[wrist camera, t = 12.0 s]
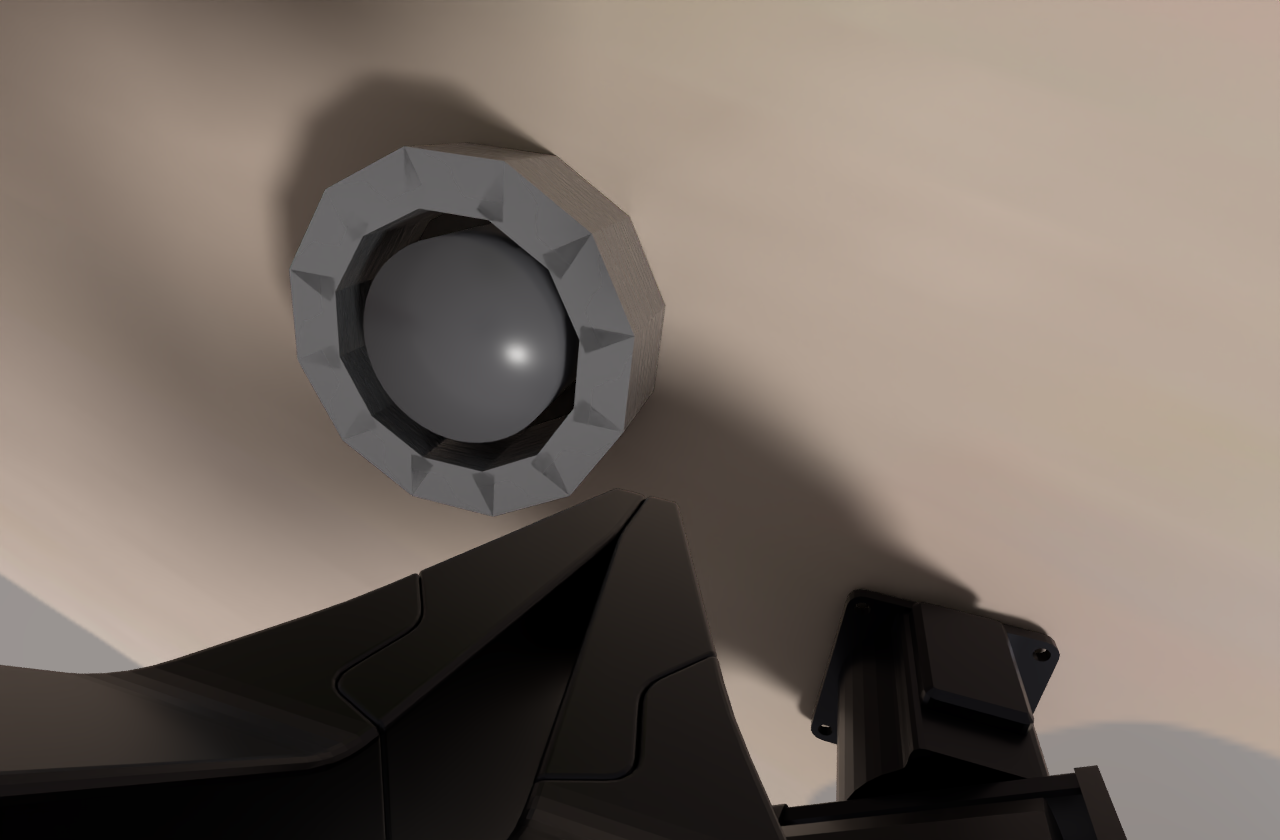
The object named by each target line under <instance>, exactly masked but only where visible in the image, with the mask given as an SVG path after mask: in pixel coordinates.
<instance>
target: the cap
mask: <svg viewBox="0 0 1280 840" xmlns="http://www.w3.org/2000/svg"><path fill="white" fill-rule="evenodd" d="M363 327H364V338H365V343H366V348H367V353H368V356H369V359H370V362H371V365H372V367H373V369H374V372H375V374H376V376H377V378H378V380H379V381H380V383H381V385H382V386H383V388H384V390H385V391H386V392H387V394H388V395H389V396H390V398H391V399H392V400H393V401H394V402H395V404H396V405H397V406H398V407H399V408H400V409H401V410H402V411H403V412H404V413H405V414H407V415H408V416H409V417H410V418H411V419H413V420H414V421H415V422H417V423H418V424H420V425H421V426H423V427H424V428H426V429H428V430H430V431H432V432H434V433H436V434H438V435H441V436H443V437H446V438H449V439H453V440H456V441H463V442H472V443H483V442H492V441H496V440H500V439H504V438H506V437H509V436H511V435H514V434H515V433H517V432H519V431H521V430H522V429H524V428H525V427H526V426H528V425H529V424H530V423H531V422H532V421H534V420H535V419H536V418H537V417H538V416H539V415H540V414H541V413H542V412H543V411H544V410H545V409H546V408H547V407H548V406H549V405H550V404H551V403H552V402H553V401H554V400H555V399H556V398H557V397H558V396H559V395H560V394H561V393H562V392H563V391H564V390H565V389H566V388H567V387H568V386H569V385H570V384H571V383H572V382H573V381H574V380H575V379H576V377H577V365H578V353H579V341H580V340H579V338H578V335H577V333H576V331H575V329H574V326H573V324H572V322H571V320H570V317H569V315H568V313H567V310H566V308H565V306H564V304H563V301H562V299H561V297H560V295H559V292H558V290H557V288H556V285H555V283H554V281H553V279H552V276H551V274H550V272H549V270H548V269H547V268H546V267H545V266H544V265H542V264H541V263H540V262H539V261H538V260H536V259H535V258H534V257H533V256H531V255H530V254H529V253H528V252H527V251H525V250H524V249H523V248H522V247H521V246H519V245H518V244H517V243H516V242H514V241H513V240H512V239H511V238H510V237H508V236H507V235H506V234H505V233H504V232H502V231H501V230H500V229H499V228H497V227H496V226H495V225H494V224H487V225H482V226H477V227H473V228H469V229H465V230H461V231H457V232H453V233H449V234H445V235H441V236H437V237H433V238H429V239H425V240H421V241H418V242H416V243H413V244H410V245H408V246H407V247H405V248H403V249H401V250H400V251H398V252H397V253H396V254H395V255H393V256H392V257H391V258H390V259H389V260H388V261H387V262H386V263H385V264H384V265H383V266H382V267H381V269H380V270H379V272H378V273H377V275H376V276H375V278H374V280H373V282H372V285H371V287H370V289H369V292H368V295H367V299H366V303H365V309H364V325H363Z"/></svg>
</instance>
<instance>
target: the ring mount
mask: <svg viewBox="0 0 1280 840" xmlns="http://www.w3.org/2000/svg"><path fill="white" fill-rule="evenodd" d="M444 213H450V214H456V215H461V216H467V217H473V218H479V219H485V220H489V221H490V222H491V223H493V224H494V225H495V226H496V227H497V228H499V229H500V230H501V231H502V232H504V233H505V234H506V235H507V236H508V237H510V238H511V239H512V240H513V241H514V242H516V243H517V244H518V245H519V246H521V247H522V248H523V249H524V250H525V251H527V252H528V253H529V254H530V255H531V256H533V257H534V258H535V259H536V260H538V261H539V262H540V263H541V264H542V265H544V266H545V267H546V268H547V269H548V270H549V272H550V274H551V276H552V279H553V281H554V283H555V285H556V288H557V290H558V292H559V295H560V297H561V299H562V301H563V304H564V306H565V308H566V310H567V313H568V315H569V317H570V320H571V322H572V324H573V326H574V329H575V331H576V333H577V335H578V338H579V340H580V341H579V353H578V365H577V377H576V389H575V401H574V409H573V410H572V411H571V413H570V414H569V415H566V416H563V417H559V418H556V419H553V420H550V421H547V422H544V423H541V424H538V425H535V426H532V427H525V428H524V429H522V430H521V431H519V432H517V433H515V434H514V435H511V436H509V437H506V438H504V439H500V440H496V441H492V442H483V443H472V442H463V441H456V440H453V439H449V438H446V437H443V436H441V435H438V434H436V433H434V432H432V431H430V430H428V429H426V428H424V427H423V426H421V425H420V424H418V423H417V422H415V421H414V420H413V419H411V418H410V417H409V416H408V415H407V414H405V413H404V412H403V411H402V410H401V409H400V408H399V407H398V406H397V405H396V404H395V402H394V401H393V400H392V399H391V398H390V396H389V395H388V394H387V392H386V391H385V390H384V388H383V386H382V385H381V383H380V381H379V380H378V378H377V376H376V374H375V372H374V369H373V367H372V365H371V362H370V359H369V356H368V353H367V348H366V343H365V338H364V327H363V325H364V309H365V303H366V299H367V295H368V292H369V289H370V287H371V285H372V282H373V280H374V278H375V276H376V275H377V273H378V272H379V270H380V269H381V267H382V266H383V265H384V264H385V263H386V262H387V261H388V260H389V259H390V258H391V257H392V256H393V255H395V254H396V253H397V252H398V251H400V250H401V249H403V248H405V247H407V246H408V245H410V244H413V243H416V242H418V241H419V239H420V237H421V235H422V234H423V232H424V230H425V228H426V226H427V225H428V223H429V221H430V220H432V219H434V218H436V217H438V216H440V215H442V214H444ZM289 273H290V283H291V294H292V305H293V315H294V326H295V337H296V348H297V358H298V361H299V363H300V365H301V367H302V369H303V370H304V372H305V374H306V376H307V377H308V379H309V381H310V383H311V385H312V386H313V388H314V390H315V392H316V394H317V395H318V397H319V399H320V401H321V402H322V404H323V406H324V408H325V410H326V411H327V413H328V415H329V417H330V419H331V420H332V422H333V424H334V426H335V428H336V429H337V431H338V433H339V435H340V436H341V438H342V440H343V441H344V442H345V443H347V444H348V445H349V446H350V447H352V448H353V449H354V450H355V451H357V452H358V453H359V454H360V455H362V456H363V457H364V458H365V459H367V460H368V461H369V462H370V463H372V464H373V465H374V466H375V467H377V468H378V469H379V470H380V471H382V472H383V473H384V474H385V475H387V476H388V477H389V478H390V479H392V480H393V481H394V482H396V483H397V484H398V485H399V486H401V487H402V488H403V489H404V490H406V491H407V492H408V493H409V494H411V495H412V496H415V497H419V498H423V499H427V500H430V501H434V502H438V503H442V504H446V505H450V506H454V507H458V508H462V509H466V510H469V511H473V512H477V513H481V514H485V515H489V516H497V515H501V514H504V513H508V512H512V511H515V510H519V509H523V508H526V507H530V506H534V505H537V504H541V503H545V502H549V501H552V500H556V499H560V498H563V497H567V496H570V495H571V494H572V492H573V491H574V490H575V489H576V488H577V487H578V485H579V484H580V483H581V482H582V481H583V479H584V478H585V477H586V476H587V475H588V474H589V472H590V471H591V470H592V469H593V468H594V466H595V465H596V464H597V463H598V462H599V461H600V459H601V458H602V457H603V456H604V455H605V454H606V452H607V451H608V450H609V449H610V448H611V446H612V445H613V444H614V443H615V442H616V441H617V439H618V438H619V437H620V436H621V435H622V433H623V432H624V431H625V430H626V428H627V427H628V425H629V424H630V423H631V421H632V420H633V418H634V417H635V416H636V414H637V413H638V412H639V410H640V409H641V407H642V406H643V405H644V403H645V402H646V400H647V399H648V398H649V396H650V395H651V393H652V392H653V391H654V386H655V378H656V370H657V363H658V355H659V348H660V340H661V333H662V325H663V318H664V310H665V304H664V301H663V299H662V296H661V294H660V291H659V289H658V286H657V284H656V281H655V279H654V276H653V274H652V271H651V269H650V266H649V264H648V261H647V259H646V256H645V254H644V251H643V249H642V246H641V244H640V241H639V239H638V236H637V234H636V231H635V229H634V226H633V224H632V221H631V219H630V217H629V216H628V215H627V214H625V213H624V212H623V211H622V210H621V209H619V208H618V207H617V206H616V205H615V204H613V203H612V202H611V201H610V200H609V199H607V198H606V197H605V196H604V195H603V194H601V193H600V192H599V191H598V190H597V189H595V188H594V187H593V186H592V185H591V184H589V183H588V182H587V181H586V180H585V179H583V178H582V177H581V176H580V175H579V174H577V173H576V172H575V171H574V170H572V169H571V168H570V167H569V166H568V165H566V164H565V163H564V162H563V161H562V160H560V159H559V158H558V157H557V156H555V155H548V154H541V153H534V152H527V151H521V150H514V149H507V148H500V147H493V146H486V145H480V144H473V143H457V144H437V145H417V146H403V147H402V148H400V149H398V150H396V151H394V152H392V153H391V154H389V155H387V156H385V157H383V158H381V159H380V160H378V161H376V162H374V163H372V164H370V165H369V166H367V167H365V168H363V169H361V170H360V171H358V172H356V173H354V174H352V175H350V176H349V177H347V178H345V179H343V180H341V181H339V182H338V183H336V184H334V185H332V186H330V187H328V188H327V189H325V191H324V193H323V196H322V198H321V200H320V202H319V204H318V207H317V209H316V211H315V213H314V215H313V218H312V220H311V222H310V224H309V226H308V229H307V231H306V233H305V235H304V237H303V240H302V242H301V244H300V246H299V248H298V251H297V253H296V255H295V257H294V260H293V262H292V264H291V266H290V268H289Z"/></svg>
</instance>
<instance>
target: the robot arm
mask: <svg viewBox="0 0 1280 840" xmlns="http://www.w3.org/2000/svg"><path fill="white" fill-rule="evenodd" d="M858 603H866V604H868V605H869V606H868V607H866V608H859V607H857V606H856V604H858ZM1039 648H1043V649H1046V651H1045V652H1042V653H1035V652H1034V651H1035V650H1037V649H1039ZM1059 656H1060V654H1059V651H1058V648H1057V646H1056V643H1055V641H1054V640H1053V639H1052V638H1051V637H1049V636H1047V635H1045V634H1041V633H1037V632H1033V631H1029V630H1025V629H1021V628H1017V627H1013V626H1009V625H1005V624H1001V622H999V621H996V620H992V619H988V618H984V617H980V616H976V615H972V614H968V613H964V612H960V611H956V610H952V609H948V608H944V607H940V606H936V605H932V604H928V603H924V602H920V603H917V602H913V601H909V600H905V599H901V598H897V597H893V596H889V595H885V594H881V593H877V592H873V591H869V590H863V589H859V590H854V591H853V592H851V593H850V594H849V595H848V597H847V600H846V603H845V607H844V610H843V613H842V617H841V620H840V623H839V627H838V630H837V634H836V637H835V640H834V644H833V647H832V651H831V654H830V657H829V661H828V664H827V668H826V671H825V674H824V678H823V681H822V684H821V688H820V691H819V695H818V698H817V701H816V705H815V708H814V712H813V715H812V721H811V731H812V733H813V735H815V736H816V737H817V738H819V739H821V740H824V741H827V742H831V743H834V744H837V791H836V792H837V793H836V802H828V803H820V804H812V805H804V806H795V807H788V806H787V804H779V805H771V803H770V800H769V798H768V796H767V794H766V791H765V789H764V787H763V785H762V782H761V780H760V778H759V775H758V773H757V771H756V769H755V766H754V764H753V762H752V759H751V757H750V755H749V752H748V750H747V747H746V744H745V742H744V739H743V737H742V734H741V732H740V729H739V727H738V724H737V722H736V719H735V717H734V713H733V710H732V707H731V703H730V700H729V697H728V694H727V690H726V687H725V684H724V680H723V676H722V672H721V669H720V665H719V661H718V659H717V655H716V650H715V647H714V643H713V639H712V635H711V631H710V627H709V623H708V619H707V615H706V611H705V607H704V604H703V600H702V596H701V592H700V588H699V584H698V580H697V576H696V572H695V568H694V564H693V561H692V557H691V553H690V549H689V545H688V541H687V537H686V533H685V529H684V525H683V522H682V518H681V514H680V510H679V506H678V504H677V503H675V502H673V501H668V500H664V499H660V498H656V497H648V498H646V499H645V497H644V496H643V495H642V494H639V493H635V492H631V491H626V490H622V489H614V490H611V491H609V492H606V493H604V494H602V495H599V496H597V497H594V498H592V499H590V500H587V501H585V502H583V503H580V504H578V505H576V506H573V507H571V508H568V509H566V510H564V511H561V512H559V513H557V514H554V515H552V516H550V517H547V518H545V519H542V520H540V521H538V522H535V523H533V524H531V525H528V526H526V527H524V528H521V529H519V530H517V531H514V532H512V533H509V534H507V535H505V536H502V537H500V538H498V539H495V540H493V541H491V542H488V543H486V544H483V545H481V546H479V547H476V548H474V549H472V550H469V551H467V552H465V553H462V554H460V555H457V556H455V557H453V558H450V559H448V560H446V561H443V562H441V563H439V564H436V565H434V566H431V567H429V568H427V569H424V570H422V571H421V572H420V573H419V575H418V574H412V575H410V576H407V577H405V578H403V579H400V580H398V581H396V582H393V583H391V584H388V585H386V586H383V587H381V588H378V589H376V590H373V591H371V592H368V593H366V594H363V595H361V596H358V597H356V598H353V599H351V600H348V601H346V602H343V603H340V604H337V605H334V606H331V607H329V608H326V609H323V610H320V611H317V612H314V613H312V614H309V615H306V616H303V617H300V618H297V619H294V620H291V621H288V622H285V623H282V624H279V625H276V626H273V627H270V628H267V629H264V630H261V631H258V632H255V633H252V634H249V635H246V636H243V637H240V638H237V639H234V640H231V641H228V642H225V643H222V644H219V645H216V646H213V647H210V648H207V649H204V650H201V651H198V652H195V653H192V654H189V655H186V656H183V657H180V658H177V659H174V660H170V661H167V662H164V663H160V664H157V665H153V666H149V667H144V668H139V669H134V670H129V671H121V672H111V673H92V674H77V673H65V672H56V671H48V670H39V669H30V668H22V667H13V666H5V665H0V840H1127V838H1126V836H1125V833H1124V831H1123V828H1122V826H1121V823H1120V821H1119V818H1118V816H1117V813H1116V811H1115V808H1114V806H1113V803H1112V801H1111V798H1110V796H1109V793H1108V791H1107V788H1106V786H1105V783H1104V781H1103V778H1102V776H1101V773H1100V771H1099V768H1098V766H1097V765H1096V766H1088V767H1080V768H1074V770H1075V773H1070V774H1060V775H1053V776H1049V772H1048V769H1047V766H1046V763H1045V760H1044V756H1043V753H1042V750H1041V747H1040V744H1039V740H1038V737H1037V734H1036V731H1035V728H1034V724H1033V723H1034V717H1033V713H1034V711H1035V709H1036V707H1037V705H1038V703H1039V700H1040V698H1041V696H1042V694H1043V692H1044V690H1045V688H1046V686H1047V683H1048V681H1049V679H1050V677H1051V675H1052V673H1053V671H1054V669H1055V667H1056V664H1057V662H1058V660H1059ZM821 725H828V726H830V727H823V726H821Z"/></svg>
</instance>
